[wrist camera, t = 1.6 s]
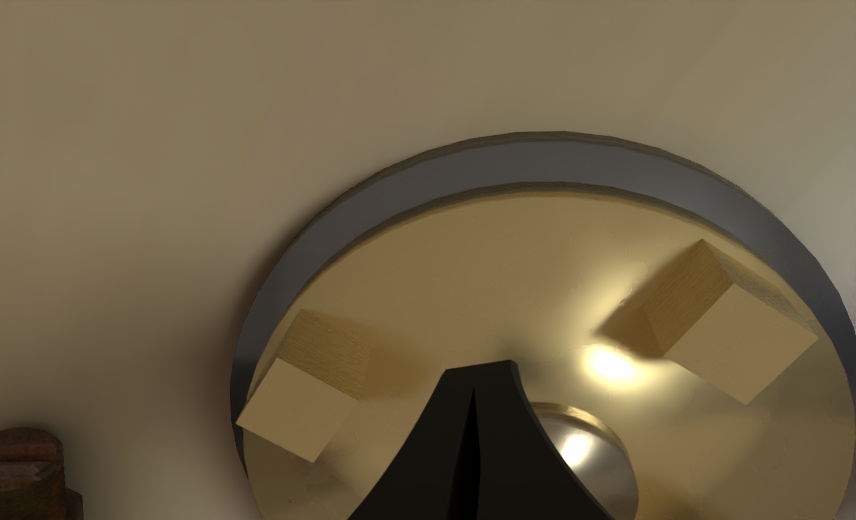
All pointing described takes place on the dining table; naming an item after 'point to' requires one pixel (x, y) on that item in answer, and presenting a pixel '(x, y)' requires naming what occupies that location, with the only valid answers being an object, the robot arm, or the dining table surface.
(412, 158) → the grey plate
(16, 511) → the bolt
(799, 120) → the dining table surface
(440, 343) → the round tray
